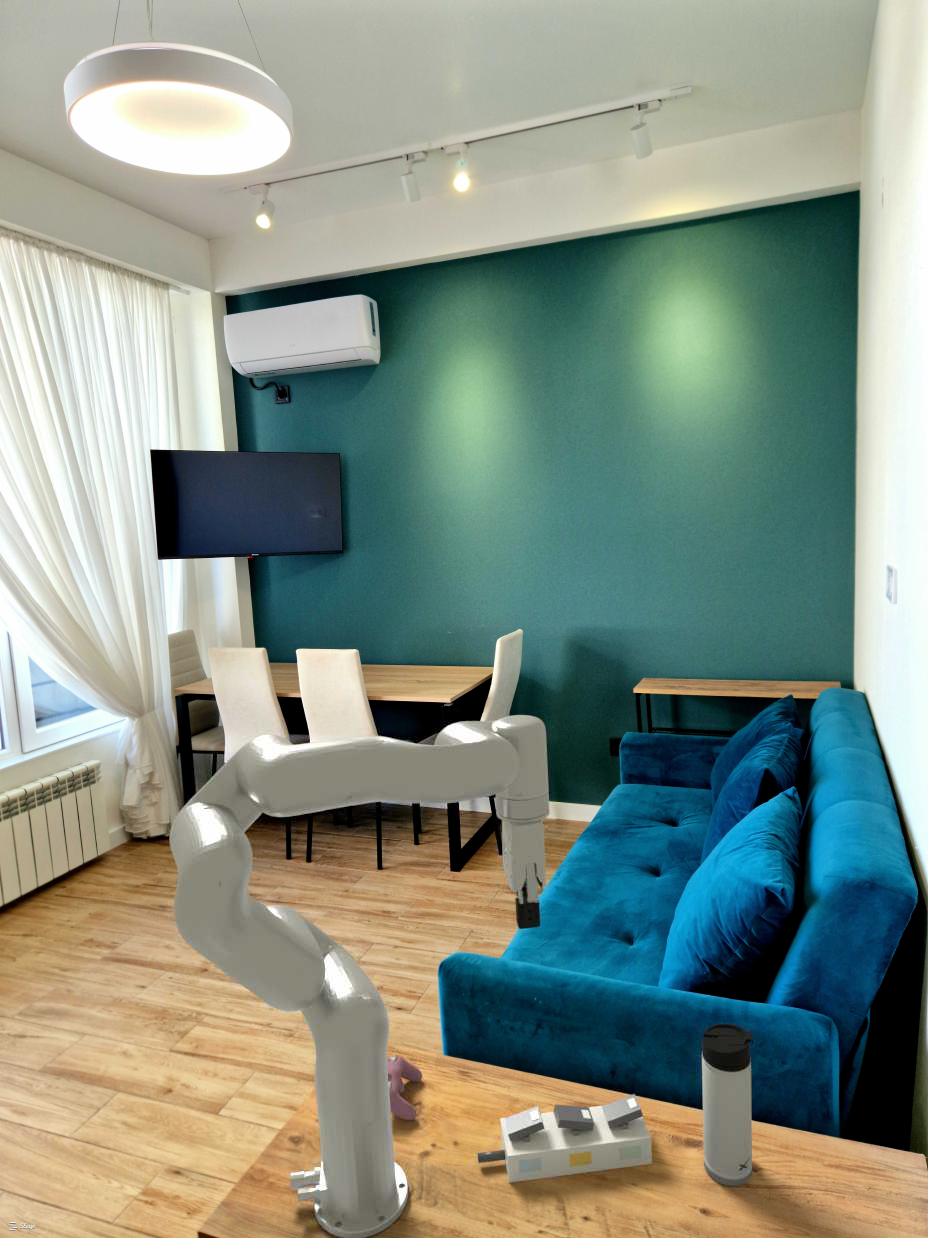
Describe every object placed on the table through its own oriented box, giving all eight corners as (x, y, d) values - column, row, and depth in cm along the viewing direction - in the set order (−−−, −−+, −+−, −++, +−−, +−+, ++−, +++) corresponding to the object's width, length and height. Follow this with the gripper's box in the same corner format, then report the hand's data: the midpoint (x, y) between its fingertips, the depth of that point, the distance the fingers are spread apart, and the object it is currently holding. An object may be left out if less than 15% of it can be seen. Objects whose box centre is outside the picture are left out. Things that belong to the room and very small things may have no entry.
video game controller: (401, 1087, 133) (379, 1052, 132) (425, 1075, 132) (403, 1040, 131) (392, 1133, 123) (369, 1096, 122) (418, 1120, 122) (395, 1083, 122)
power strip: (481, 1187, 110) (479, 1156, 109) (475, 1147, 117) (473, 1117, 117) (652, 1164, 112) (651, 1133, 112) (636, 1126, 119) (635, 1097, 119)
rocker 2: (609, 1129, 113) (607, 1121, 113) (603, 1113, 116) (601, 1106, 116) (643, 1116, 114) (640, 1108, 113) (636, 1101, 117) (634, 1093, 116)
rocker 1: (510, 1142, 112) (507, 1134, 112) (507, 1126, 115) (504, 1118, 115) (544, 1129, 112) (541, 1121, 112) (540, 1113, 115) (537, 1105, 115)
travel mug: (758, 1190, 107) (756, 1051, 104) (706, 1185, 108) (703, 1047, 106) (751, 1153, 113) (749, 1021, 111) (702, 1148, 115) (699, 1017, 112)
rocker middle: (557, 1128, 112) (559, 1119, 112) (553, 1112, 115) (555, 1104, 115) (592, 1131, 113) (594, 1122, 113) (587, 1115, 116) (588, 1107, 116)
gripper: (489, 788, 122) (495, 903, 124) (504, 826, 107) (510, 956, 110) (538, 784, 123) (543, 899, 125) (559, 820, 108) (565, 950, 110)
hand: (528, 925), depth 117 cm, fingers closed
